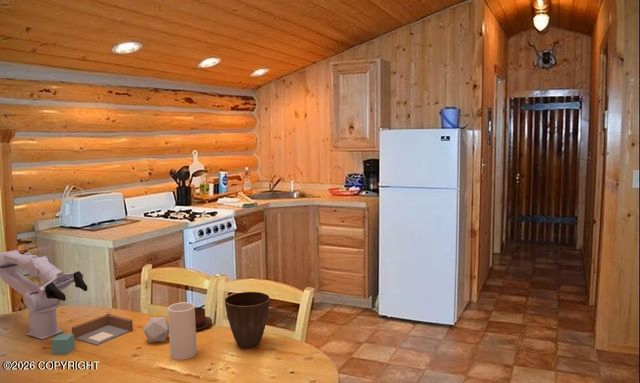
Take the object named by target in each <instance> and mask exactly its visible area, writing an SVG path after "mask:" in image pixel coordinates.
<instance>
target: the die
mask: <svg viewBox="0 0 640 383" xmlns="http://www.w3.org/2000/svg"><path fill="white" fill-rule="evenodd" d="M142 332H143V333H144V335H145V336H146V339H147V341H148V342H149V343H165V341H166V340H167V337H168V336H169V320H167V317H165V316H163V317H160V316H158V317H150V319H148V321H147V323H146V324H145V326H144V328H143V330H142Z"/></svg>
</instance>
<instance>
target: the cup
mask: <svg viewBox="0 0 640 383" xmlns="http://www.w3.org/2000/svg"><path fill="white" fill-rule="evenodd" d="M195 305H196V304H194V303H193V302H187V301H183V302H177V303H172V304H170V305H169V306H168V308H167V310H168V312H167V313H168V314H167V315H168V323H169V334H168V336H169V350H170V351H169V352H170V354H169V355H170V358H171V359H173V360H177V361H182V360H189V359H191V358H194V357H195V356H196V355H197V354H198V351H197V330H196V324H195V307H196V306H195Z"/></svg>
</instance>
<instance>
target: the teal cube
mask: <svg viewBox="0 0 640 383" xmlns="http://www.w3.org/2000/svg"><path fill="white" fill-rule="evenodd" d="M75 340H76V339H74V334H72V333H58V334H56V335H55V337H54V338H52V339H51V350H52V351H51V353H52V355H55V356H56V355H69V354H70V353H71V352H72V351H73V350H74V349H75V348H76V342H75Z"/></svg>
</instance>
